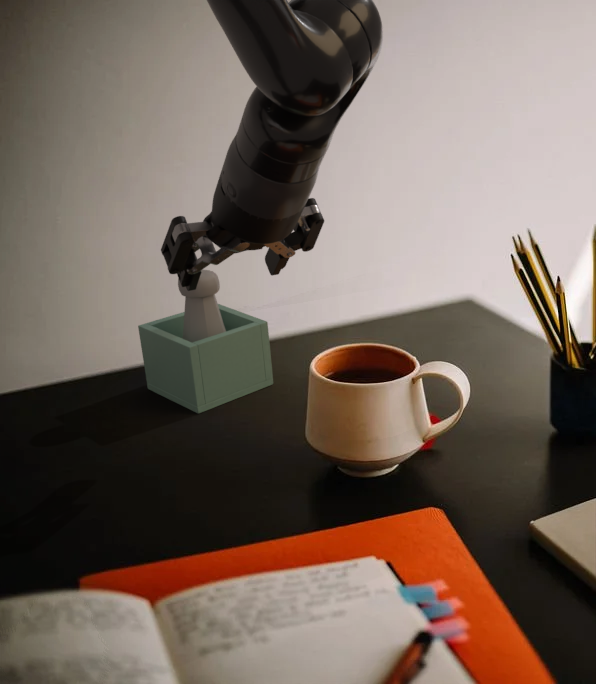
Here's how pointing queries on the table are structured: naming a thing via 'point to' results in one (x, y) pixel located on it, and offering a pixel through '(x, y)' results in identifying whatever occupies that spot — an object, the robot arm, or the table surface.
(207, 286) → the salt shaker
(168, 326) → the green open box
